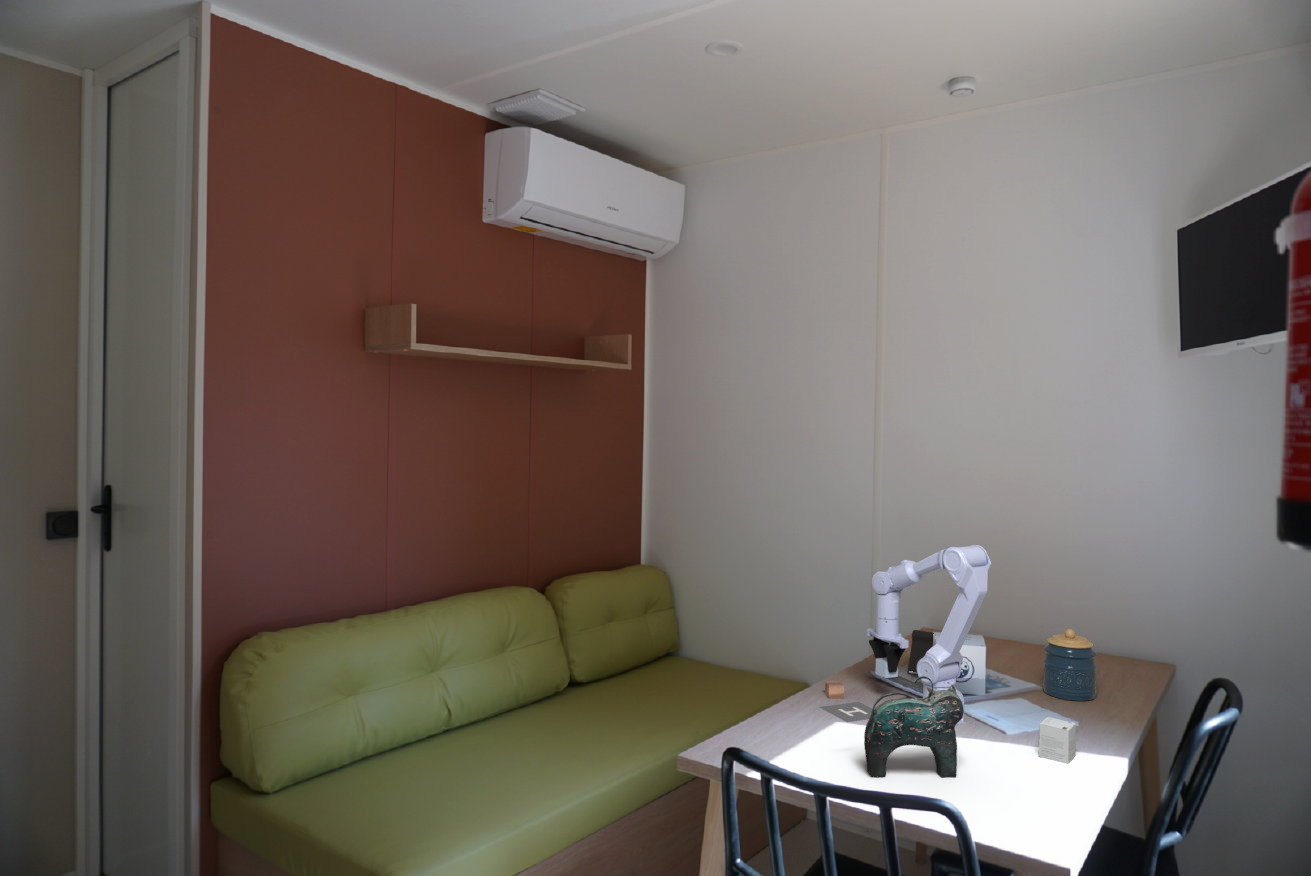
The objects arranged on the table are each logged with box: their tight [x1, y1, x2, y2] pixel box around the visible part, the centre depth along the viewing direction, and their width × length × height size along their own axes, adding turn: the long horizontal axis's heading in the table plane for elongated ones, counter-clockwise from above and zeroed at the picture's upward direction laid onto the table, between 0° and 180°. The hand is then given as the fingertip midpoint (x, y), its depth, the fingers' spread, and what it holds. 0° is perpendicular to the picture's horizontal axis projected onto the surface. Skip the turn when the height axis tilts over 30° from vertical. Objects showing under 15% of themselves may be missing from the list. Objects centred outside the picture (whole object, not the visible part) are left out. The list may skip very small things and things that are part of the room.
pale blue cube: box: [875, 658, 899, 679], centre depth 218 cm, size 4×4×4 cm
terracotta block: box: [824, 681, 845, 700], centre depth 221 cm, size 4×4×4 cm
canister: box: [1042, 628, 1098, 702], centre depth 227 cm, size 13×13×18 cm
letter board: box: [819, 701, 873, 723], centre depth 208 cm, size 12×12×1 cm
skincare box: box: [1038, 716, 1077, 765], centre depth 182 cm, size 6×6×7 cm
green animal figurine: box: [863, 676, 965, 779], centre depth 171 cm, size 20×6×20 cm, turn 92°
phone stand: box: [907, 629, 935, 672], centre depth 247 cm, size 9×6×12 cm, turn 143°
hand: (886, 669), depth 218 cm, fingers closed on pale blue cube, 4 cm apart
